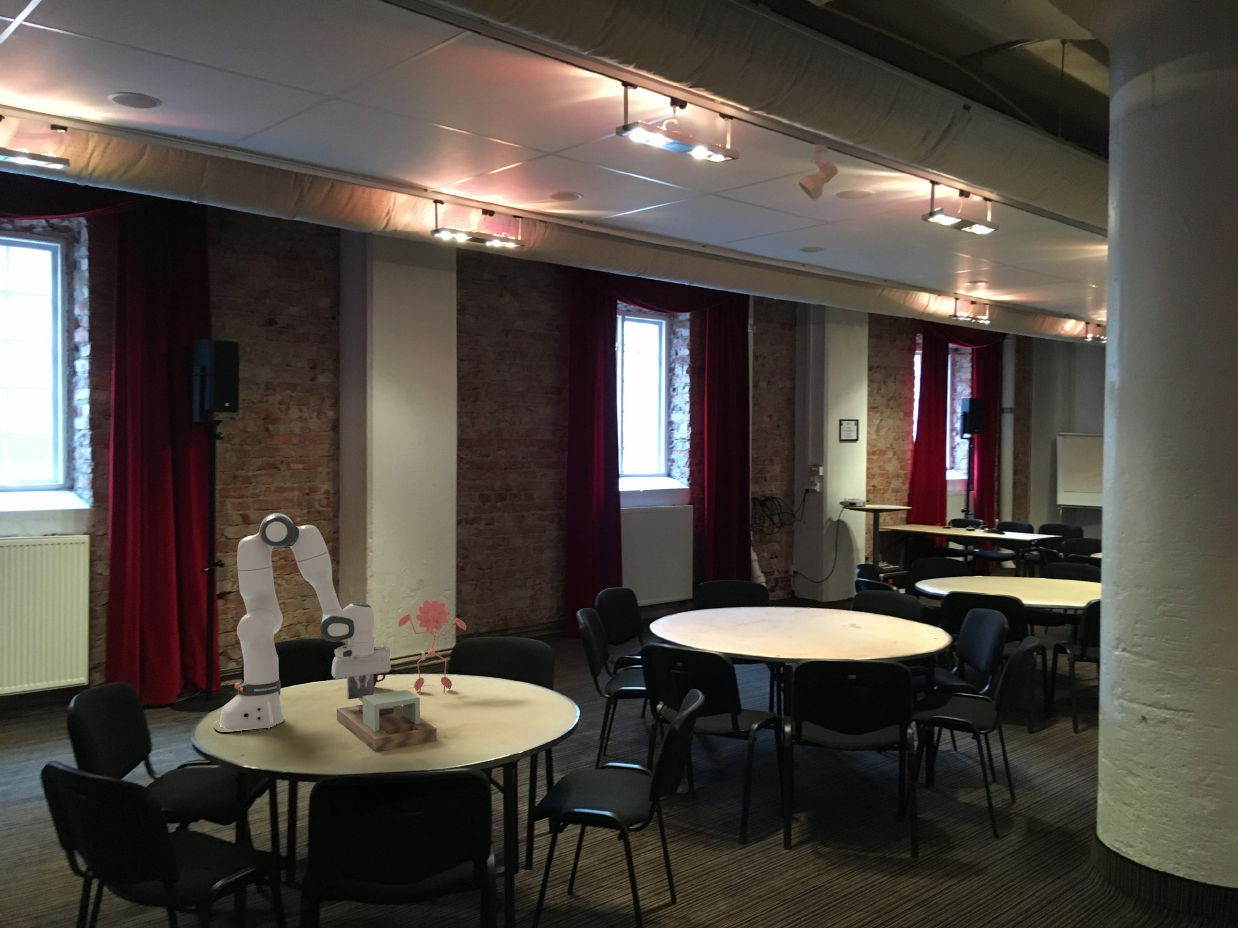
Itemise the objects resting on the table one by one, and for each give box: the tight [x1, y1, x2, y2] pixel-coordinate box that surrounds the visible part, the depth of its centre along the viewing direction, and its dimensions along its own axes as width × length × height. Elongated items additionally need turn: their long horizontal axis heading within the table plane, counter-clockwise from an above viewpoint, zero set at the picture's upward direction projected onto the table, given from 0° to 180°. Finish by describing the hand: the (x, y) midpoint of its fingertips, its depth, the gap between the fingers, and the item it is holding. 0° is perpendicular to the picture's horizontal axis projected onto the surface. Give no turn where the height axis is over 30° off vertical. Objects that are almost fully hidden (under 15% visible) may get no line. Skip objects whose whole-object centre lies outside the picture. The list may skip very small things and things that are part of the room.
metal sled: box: [346, 674, 394, 715], centre depth 332 cm, size 9×22×10 cm, turn 32°
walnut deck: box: [336, 704, 438, 753], centre depth 320 cm, size 20×41×4 cm, turn 32°
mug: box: [373, 672, 387, 688], centre depth 375 cm, size 11×8×10 cm
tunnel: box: [362, 689, 421, 731], centre depth 314 cm, size 15×12×8 cm
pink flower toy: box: [398, 599, 467, 695], centre depth 372 cm, size 15×26×35 cm, turn 96°
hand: (361, 687), depth 340 cm, fingers closed, pressing on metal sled
